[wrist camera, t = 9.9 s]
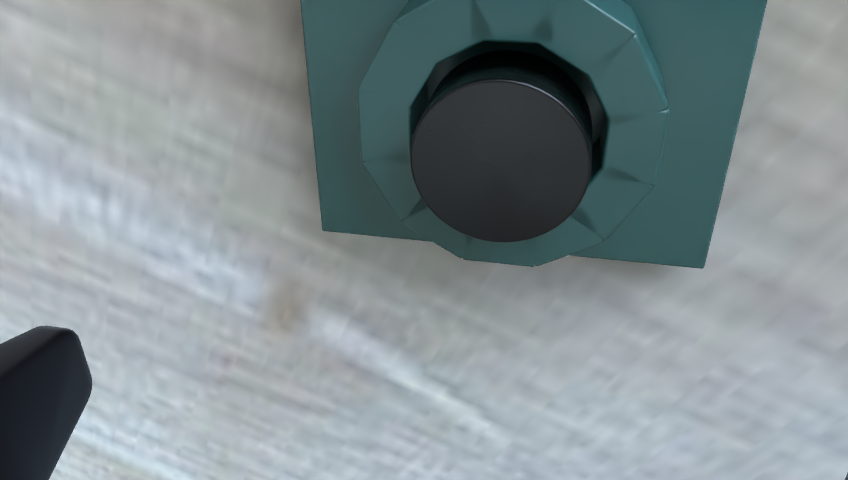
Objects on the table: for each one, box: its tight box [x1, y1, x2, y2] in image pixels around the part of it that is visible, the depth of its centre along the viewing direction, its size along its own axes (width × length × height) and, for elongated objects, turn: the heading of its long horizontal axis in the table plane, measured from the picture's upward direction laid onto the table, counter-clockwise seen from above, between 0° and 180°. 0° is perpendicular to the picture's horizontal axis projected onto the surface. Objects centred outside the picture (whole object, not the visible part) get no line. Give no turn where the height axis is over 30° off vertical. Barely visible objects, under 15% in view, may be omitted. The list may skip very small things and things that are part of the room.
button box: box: [300, 0, 767, 268], centre depth 17 cm, size 10×8×4 cm
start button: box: [410, 50, 592, 243], centre depth 15 cm, size 4×4×2 cm
